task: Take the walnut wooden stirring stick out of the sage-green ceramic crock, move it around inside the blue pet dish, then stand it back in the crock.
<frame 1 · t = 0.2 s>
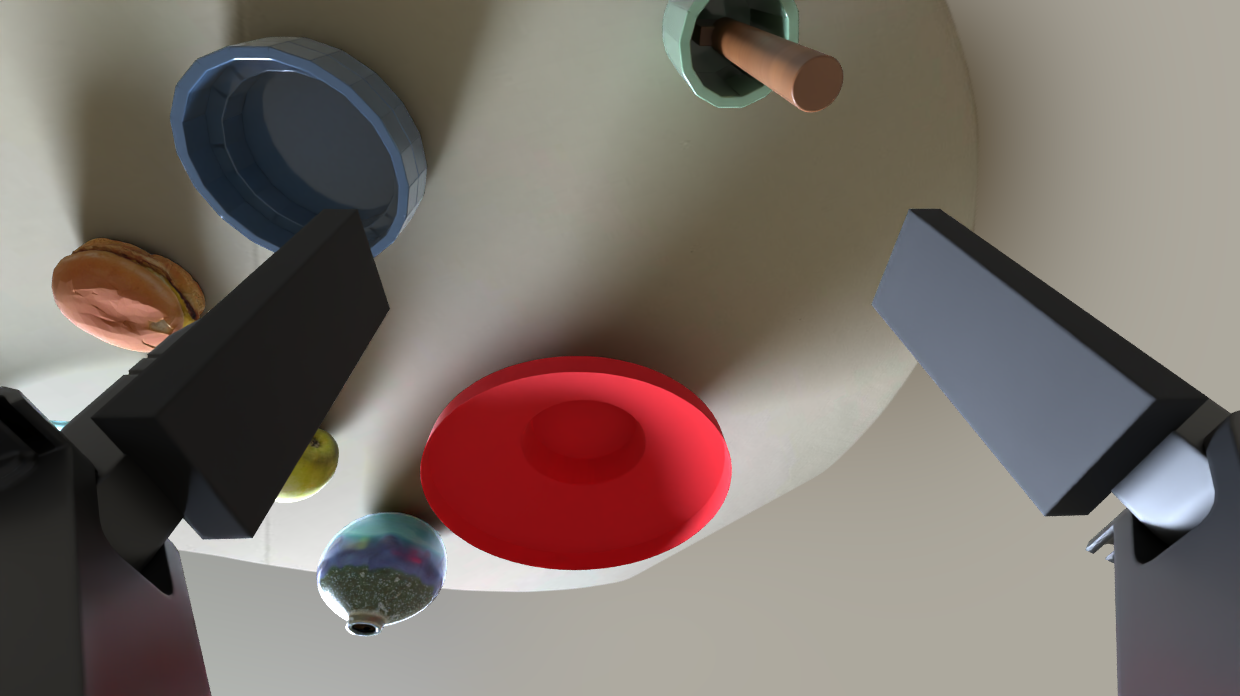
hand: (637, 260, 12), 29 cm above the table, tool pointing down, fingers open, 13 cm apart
burger: (150, 284, 44), on the table
apple: (312, 434, 57), on the table
crock: (708, 27, 33), on the table
stick: (710, 28, 33), point 1 cm above the table, touching crock
bowl: (581, 417, 57), on the table
vase: (399, 526, 68), on the table
blue pet dish: (331, 147, 37), on the table
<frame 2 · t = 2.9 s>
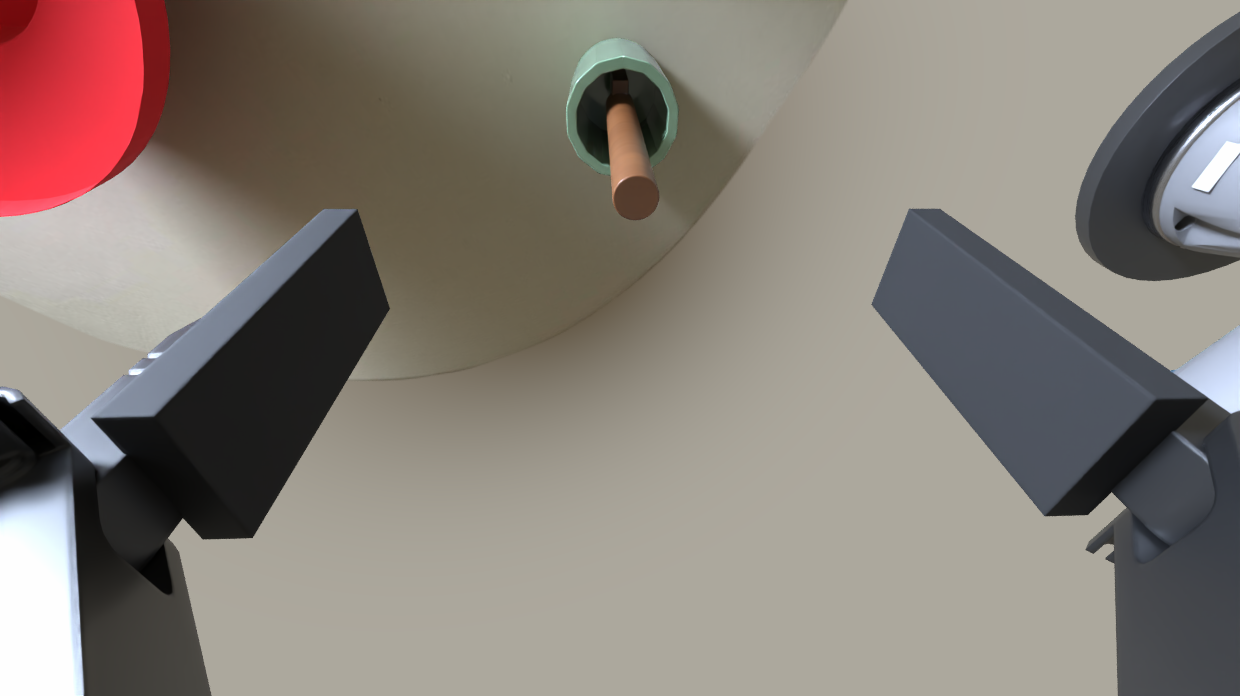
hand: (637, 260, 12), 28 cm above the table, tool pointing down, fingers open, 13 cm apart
crock: (617, 90, 35), on the table
stick: (617, 92, 35), point 1 cm above the table, touching crock
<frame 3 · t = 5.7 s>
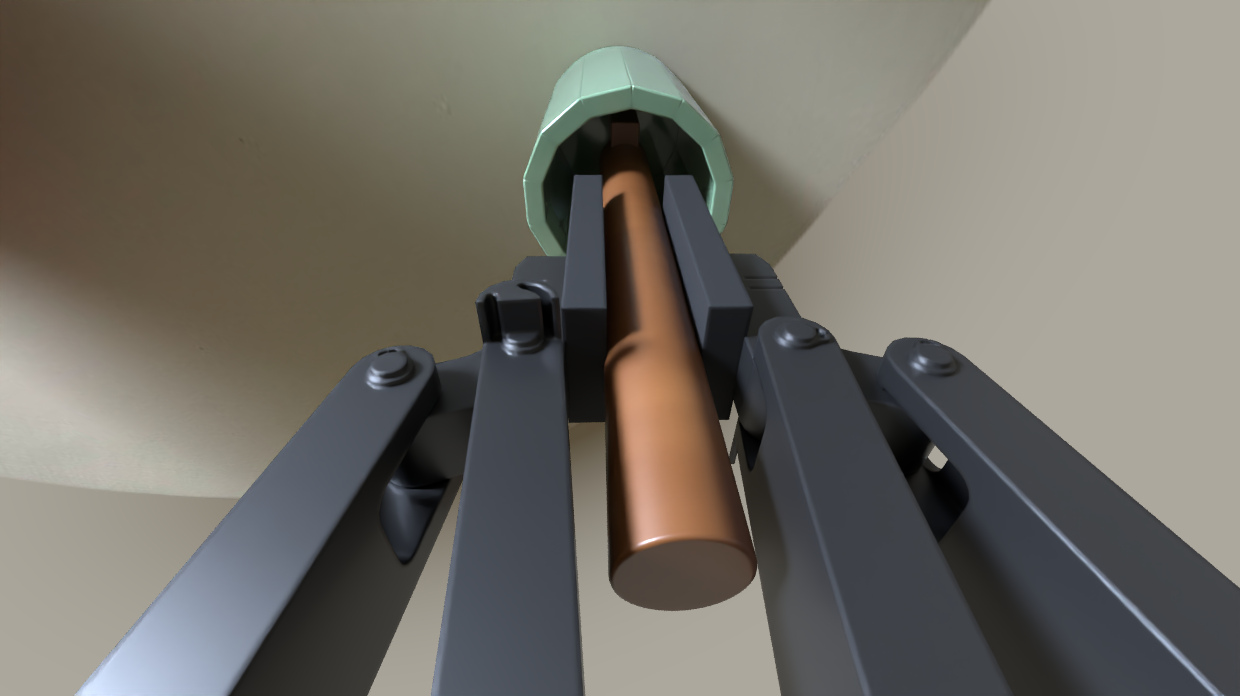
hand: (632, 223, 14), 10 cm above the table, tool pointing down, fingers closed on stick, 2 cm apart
crock: (618, 127, 22), on the table
stick: (619, 132, 22), point 1 cm above the table, touching gripper
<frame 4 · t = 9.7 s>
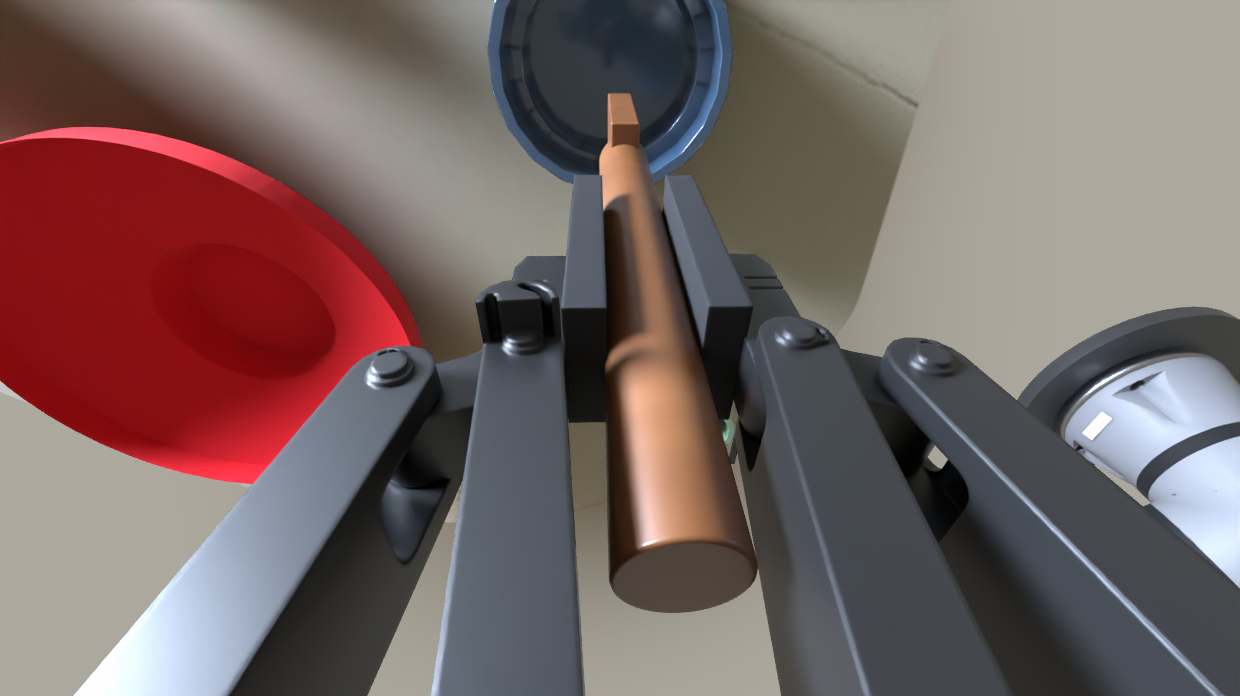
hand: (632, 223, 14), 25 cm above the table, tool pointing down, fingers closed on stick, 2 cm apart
stick: (619, 133, 22), point 16 cm above the table, touching gripper
bowl: (271, 286, 44), on the table
blue pet dish: (609, 59, 34), on the table
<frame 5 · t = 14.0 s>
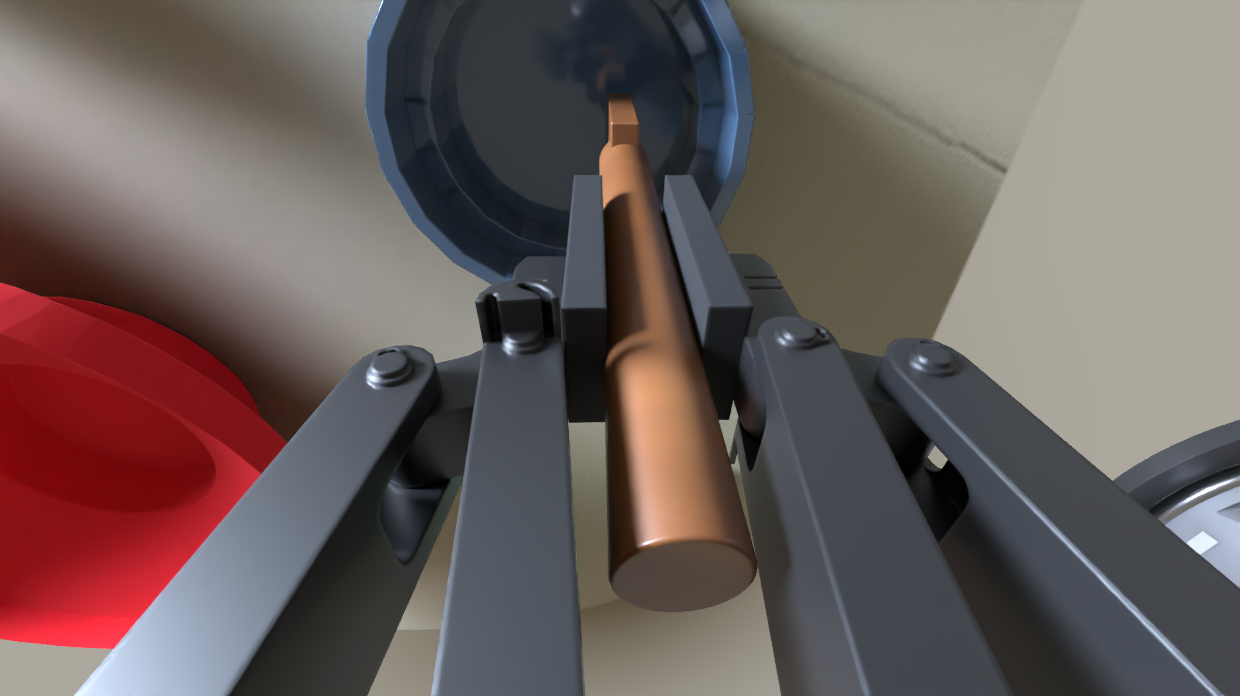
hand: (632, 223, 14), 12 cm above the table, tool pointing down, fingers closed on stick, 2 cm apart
stick: (618, 133, 22), point 2 cm above the table, touching gripper
bowl: (135, 394, 33), on the table
blue pet dish: (570, 110, 23), on the table
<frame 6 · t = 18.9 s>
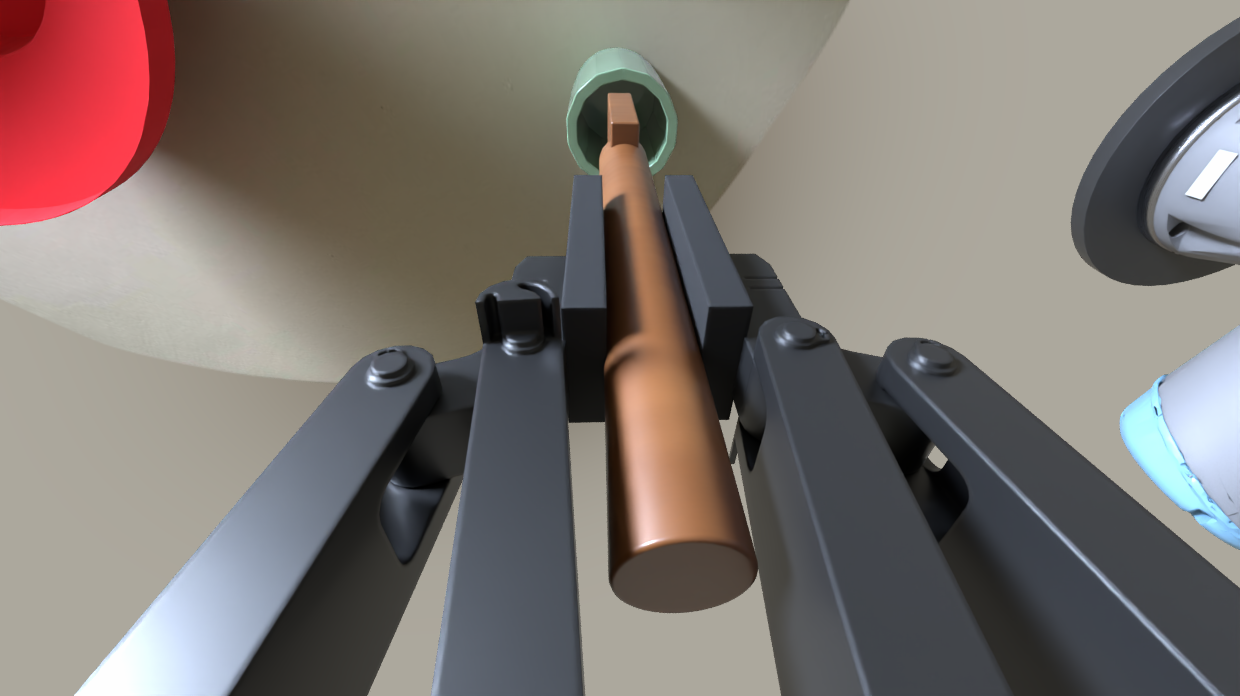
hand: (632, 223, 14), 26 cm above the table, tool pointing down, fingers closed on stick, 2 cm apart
crock: (616, 98, 35), on the table
stick: (618, 132, 22), point 16 cm above the table, touching gripper
when the fingers open (10 cm above the table, at t = 22.6 s): stick stays where it is, resting on crock.
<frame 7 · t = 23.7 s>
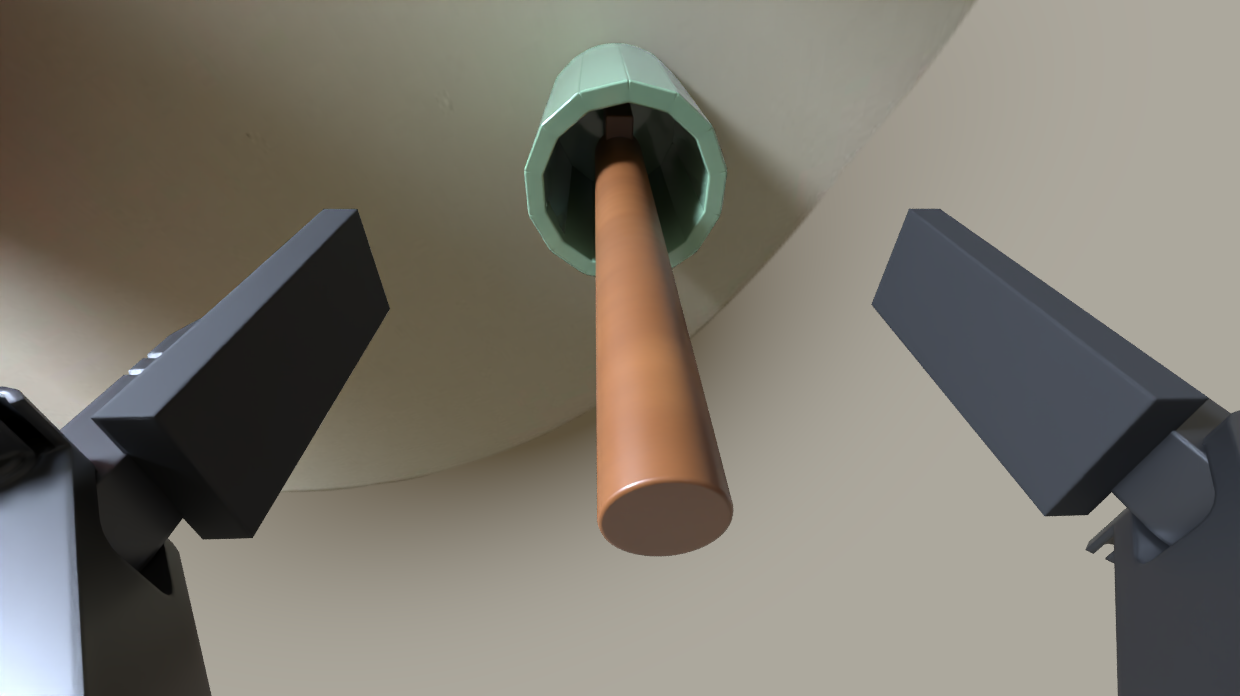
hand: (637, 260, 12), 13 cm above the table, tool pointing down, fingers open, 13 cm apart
crock: (616, 123, 23), on the table
stick: (614, 127, 22), point 1 cm above the table, touching crock
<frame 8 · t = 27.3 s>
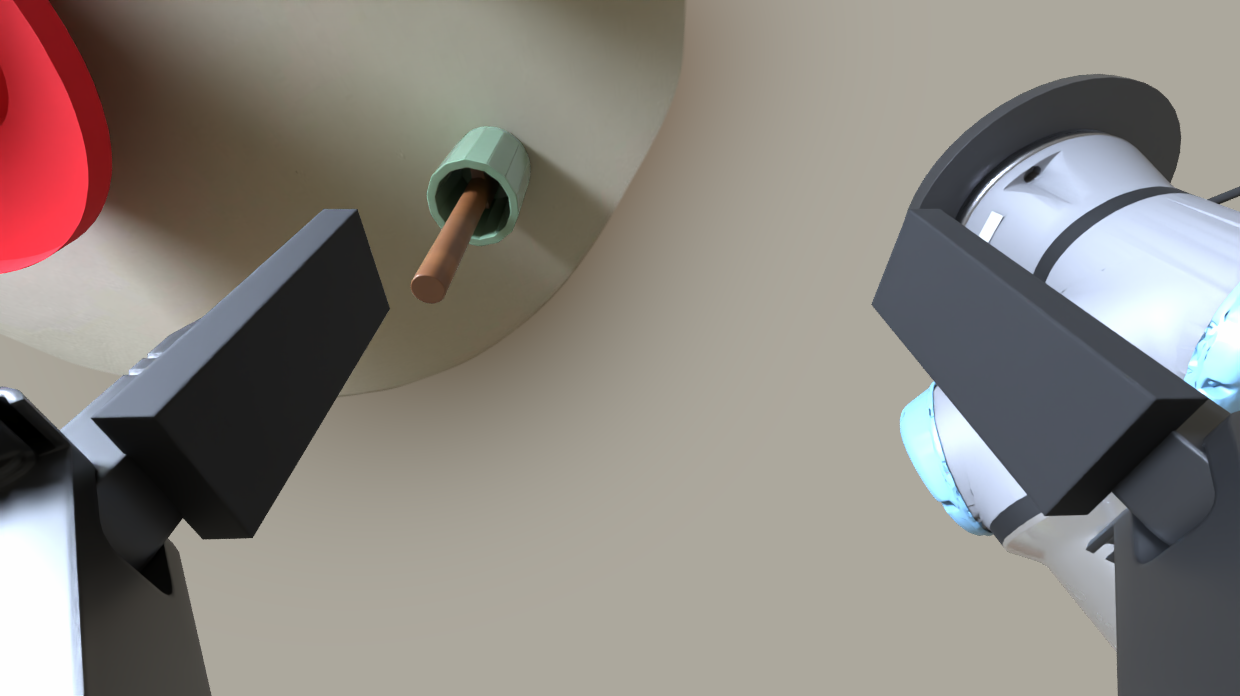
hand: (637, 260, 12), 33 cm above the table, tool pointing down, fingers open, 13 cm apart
crock: (493, 165, 43), on the table
stick: (490, 168, 42), point 1 cm above the table, touching crock
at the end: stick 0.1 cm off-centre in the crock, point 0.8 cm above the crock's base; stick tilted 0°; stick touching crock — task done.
